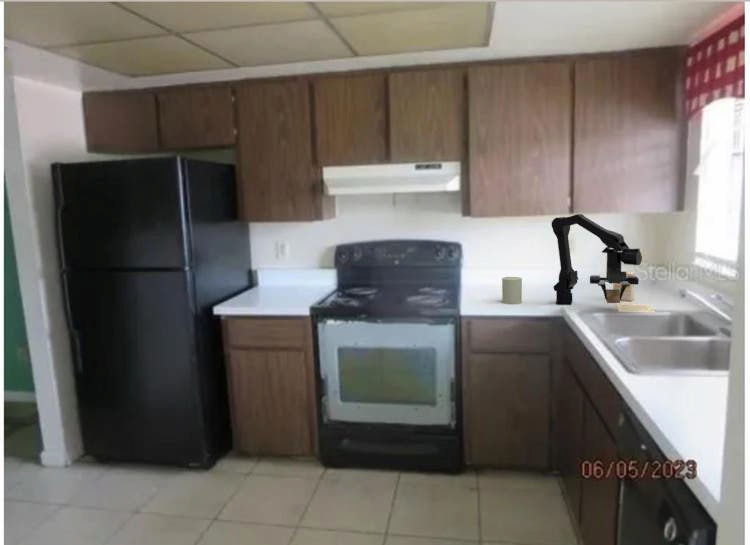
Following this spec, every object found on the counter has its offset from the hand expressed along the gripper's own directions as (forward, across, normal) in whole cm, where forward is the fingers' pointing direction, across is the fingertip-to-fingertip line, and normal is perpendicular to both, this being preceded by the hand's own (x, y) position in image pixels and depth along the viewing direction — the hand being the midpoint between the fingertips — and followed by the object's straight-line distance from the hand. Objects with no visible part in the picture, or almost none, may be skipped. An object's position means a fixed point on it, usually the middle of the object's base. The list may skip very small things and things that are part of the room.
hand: (613, 299), depth 227 cm
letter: (+4, +9, +4) cm, 11 cm away
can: (+5, -43, +9) cm, 44 cm away
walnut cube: (+1, 0, 0) cm, 1 cm away
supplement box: (+5, +6, +22) cm, 23 cm away
